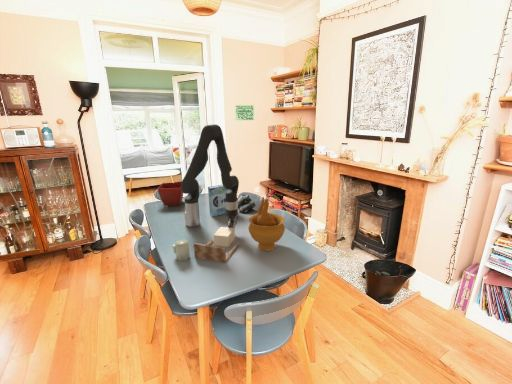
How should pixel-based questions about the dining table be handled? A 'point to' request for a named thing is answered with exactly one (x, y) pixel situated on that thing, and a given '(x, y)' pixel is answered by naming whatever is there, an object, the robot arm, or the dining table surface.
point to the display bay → (212, 252)
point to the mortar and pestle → (266, 227)
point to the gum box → (217, 200)
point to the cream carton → (224, 236)
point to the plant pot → (171, 193)
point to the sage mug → (182, 250)
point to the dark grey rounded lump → (245, 203)
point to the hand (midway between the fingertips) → (232, 232)
